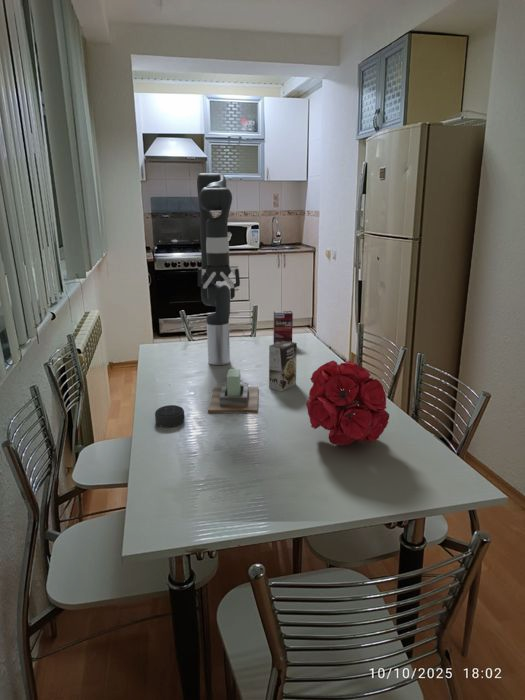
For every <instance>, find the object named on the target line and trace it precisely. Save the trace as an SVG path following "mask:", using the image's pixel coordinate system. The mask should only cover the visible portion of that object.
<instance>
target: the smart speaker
mask: <svg viewBox="0 0 525 700" xmlns="http://www.w3.org/2000/svg"><path fill="white" fill-rule="evenodd" d="M154 418H155V419H154V422H155V423H156V424H157V425H158V426H160V427H165V428H172V427H177V426H179V425H181V424H182V423H183V422H184V421H185V418H186V417H185V410H184V408H183V407H182V406H180V405H174V404H173V405H172V404H170V405H164V406H161V407H158V408H157V409H156V410H155V411H154Z"/></svg>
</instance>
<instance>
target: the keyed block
mask: <svg viewBox="0 0 525 700" xmlns="http://www.w3.org/2000/svg"><path fill="white" fill-rule="evenodd" d="M226 374H227V375H226V384H227V396H240V395H241V385H240V384H241V369H237V368H236V369H235V368H234V369H232V368H231V369H228V370H227V373H226Z"/></svg>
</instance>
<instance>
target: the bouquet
mask: <svg viewBox="0 0 525 700" xmlns="http://www.w3.org/2000/svg"><path fill="white" fill-rule="evenodd" d="M370 376H372V375H371V373H370V372H369V371H368V370H367V369H365V368H364V367H362V366H360V365H358V364H357V363H356V362H354V361H348V360H347V361H345V362H341V363H340V364H339V363H338V362H337V361H335V360H331V361H329V362H326V363H324V364H322V365H321V366H319V367H318V368H317V369H316V370H315V371H314V372H312V374H311V377H310V381H311V383H312V386H311V388H309V392H308V395H309V396H308V400H307V402H306V405H305V406H306V409H307V415H308V417H309V423H310V428H312V429H313V430H315V429H318V428H320V427H321V428H323V429H324V430H327V431H329V433H328V441H329V443H331V444H332V445H336V446H337V445H341V446H342V445H343V446H344V445H351V444H352V443H353V442H355V441H356V442H362V441H366V442H369V443H370V442H375V441H377V440H378V439H379V438H380V436H381V435H382V434H383V433H384V431H385V429H386V428H387V426H388V424H389V420H390V413H388V411H387V410H386V409H387V397H386V391H385V389H384V385H383V384H382V382H381V381H380V380H378V379H376V378H375V379H374V377H370Z"/></svg>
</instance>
